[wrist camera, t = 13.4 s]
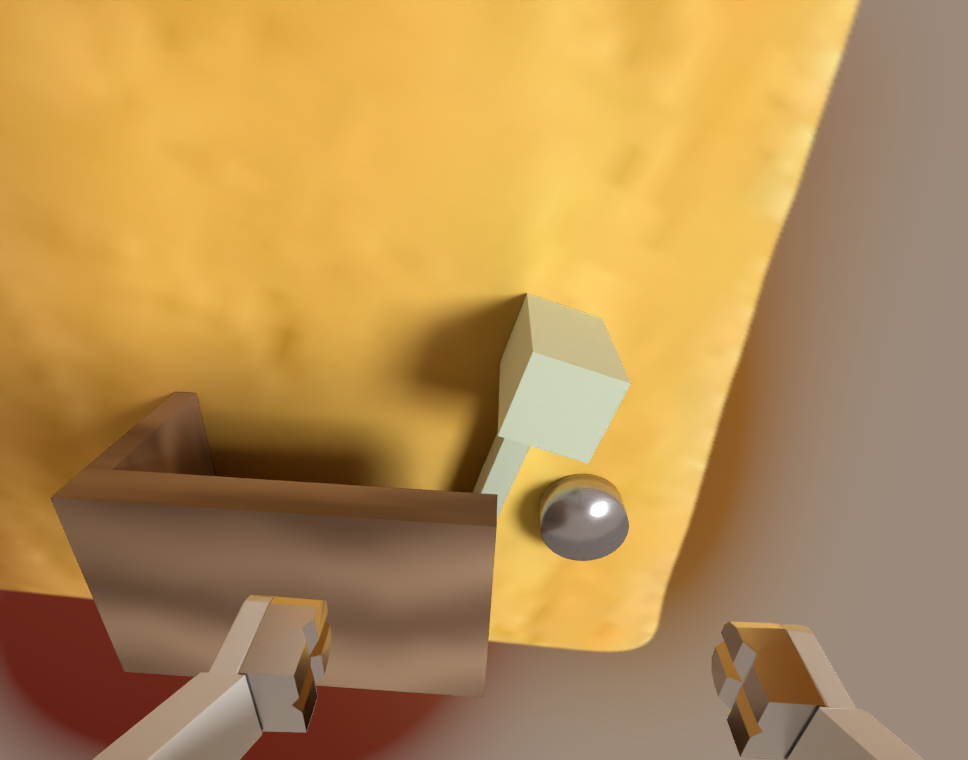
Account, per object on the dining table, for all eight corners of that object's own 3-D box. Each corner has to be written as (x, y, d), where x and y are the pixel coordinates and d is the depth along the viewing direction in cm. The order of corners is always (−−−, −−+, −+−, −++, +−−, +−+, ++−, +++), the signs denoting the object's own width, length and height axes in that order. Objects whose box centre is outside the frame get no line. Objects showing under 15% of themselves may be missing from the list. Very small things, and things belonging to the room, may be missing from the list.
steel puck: (563, 459, 31) (567, 481, 29) (637, 490, 32) (645, 513, 30) (525, 519, 33) (526, 542, 31) (595, 547, 34) (600, 571, 32)
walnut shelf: (174, 391, 30) (50, 497, 22) (500, 411, 29) (496, 527, 21) (213, 541, 35) (124, 671, 27) (490, 559, 34) (484, 697, 26)
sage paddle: (527, 292, 26) (533, 351, 20) (602, 318, 26) (631, 383, 20) (436, 524, 33) (420, 621, 27) (497, 541, 34) (494, 640, 27)
